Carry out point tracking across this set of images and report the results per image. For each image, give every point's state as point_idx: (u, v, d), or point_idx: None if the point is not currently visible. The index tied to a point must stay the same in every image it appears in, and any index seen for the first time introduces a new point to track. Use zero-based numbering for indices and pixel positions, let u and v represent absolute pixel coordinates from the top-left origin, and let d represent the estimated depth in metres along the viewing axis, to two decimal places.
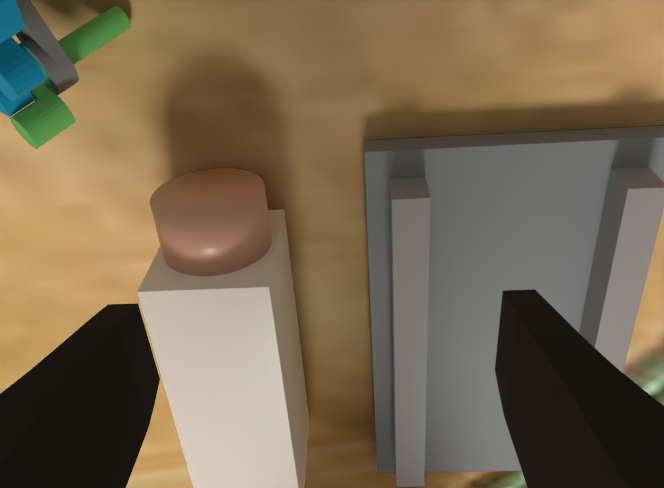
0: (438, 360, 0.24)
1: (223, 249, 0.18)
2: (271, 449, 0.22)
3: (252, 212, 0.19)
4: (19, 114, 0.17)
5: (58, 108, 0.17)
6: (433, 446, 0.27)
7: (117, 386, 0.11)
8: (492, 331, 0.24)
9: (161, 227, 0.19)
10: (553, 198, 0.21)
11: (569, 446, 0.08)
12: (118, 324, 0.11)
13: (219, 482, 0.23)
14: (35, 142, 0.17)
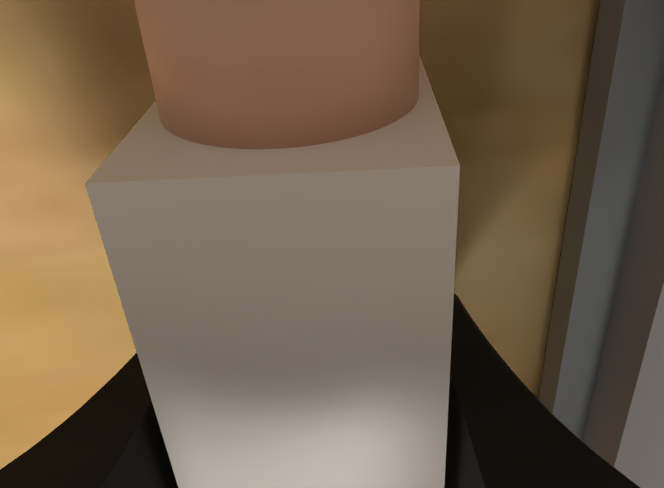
0: None
1: (324, 68, 0.07)
2: None
3: None
4: None
5: None
6: None
7: None
8: None
9: (153, 10, 0.07)
10: None
11: (459, 449, 0.09)
12: None
13: None
14: None
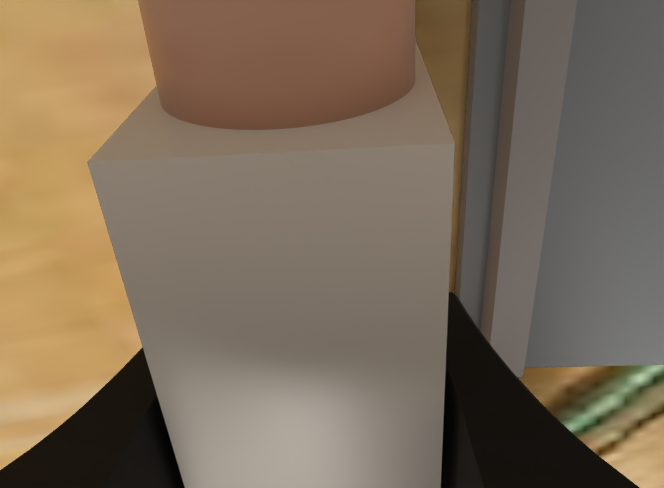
0: (552, 201, 0.19)
1: (322, 50, 0.07)
2: None
3: None
4: None
5: None
6: (530, 330, 0.21)
7: None
8: (630, 156, 0.18)
9: None
10: None
11: (458, 448, 0.09)
12: None
13: None
14: None
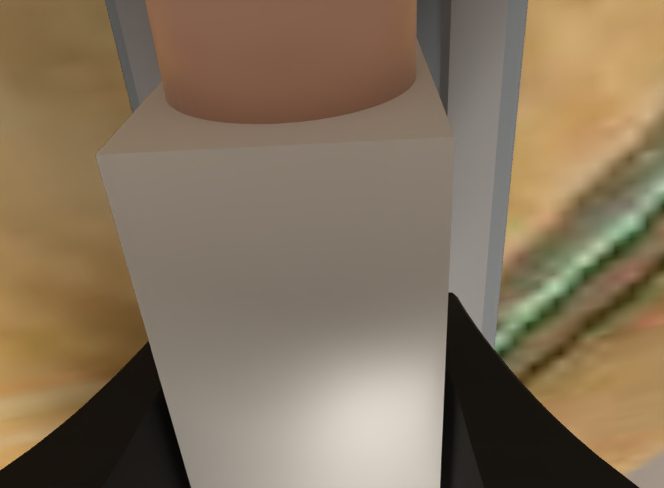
0: None
1: (324, 45, 0.07)
2: None
3: None
4: None
5: None
6: None
7: None
8: None
9: None
10: None
11: (458, 448, 0.09)
12: None
13: None
14: None
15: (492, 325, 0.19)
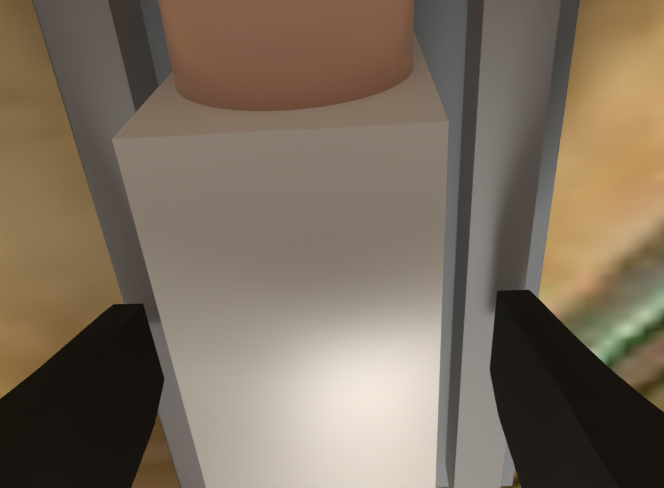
0: None
1: (327, 36, 0.07)
2: None
3: None
4: None
5: None
6: None
7: (123, 386, 0.11)
8: None
9: None
10: None
11: (561, 446, 0.08)
12: (124, 324, 0.11)
13: None
14: None
15: None
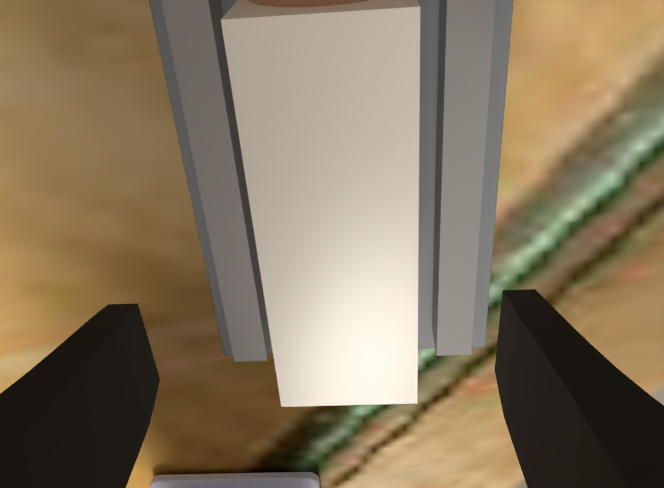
0: None
1: None
2: (388, 298, 0.16)
3: None
4: None
5: None
6: None
7: (117, 386, 0.11)
8: None
9: None
10: None
11: (569, 446, 0.08)
12: (118, 324, 0.11)
13: (310, 353, 0.17)
14: None
15: (486, 274, 0.21)
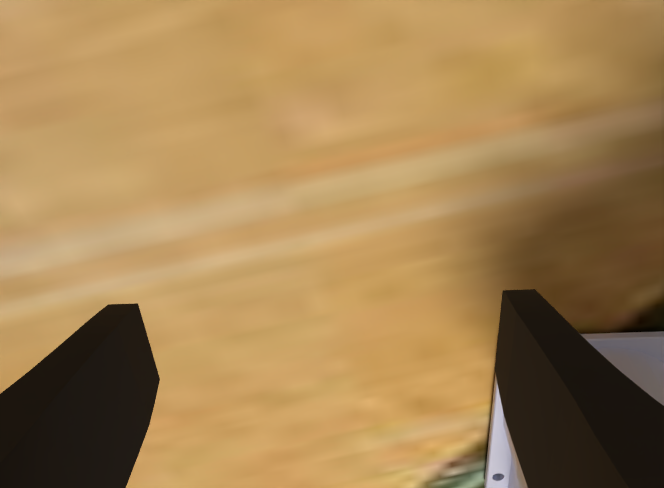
0: None
1: None
2: None
3: None
4: None
5: None
6: None
7: (117, 386, 0.11)
8: None
9: None
10: None
11: (569, 446, 0.08)
12: (118, 324, 0.11)
13: None
14: None
15: None
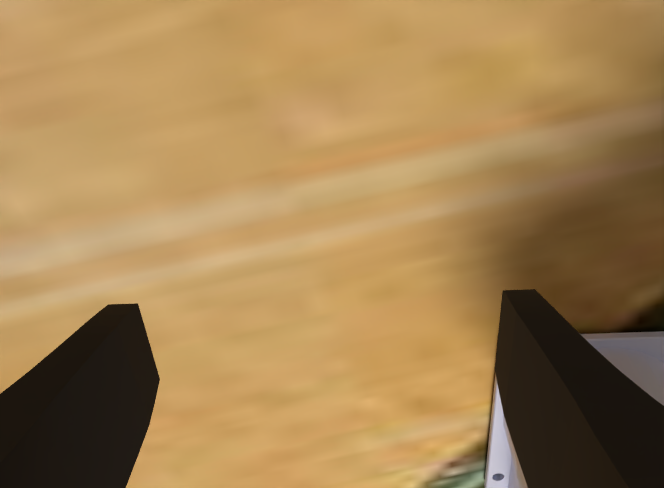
0: None
1: None
2: None
3: None
4: None
5: None
6: None
7: (117, 386, 0.11)
8: None
9: None
10: None
11: (569, 446, 0.08)
12: (118, 324, 0.11)
13: None
14: None
15: None
